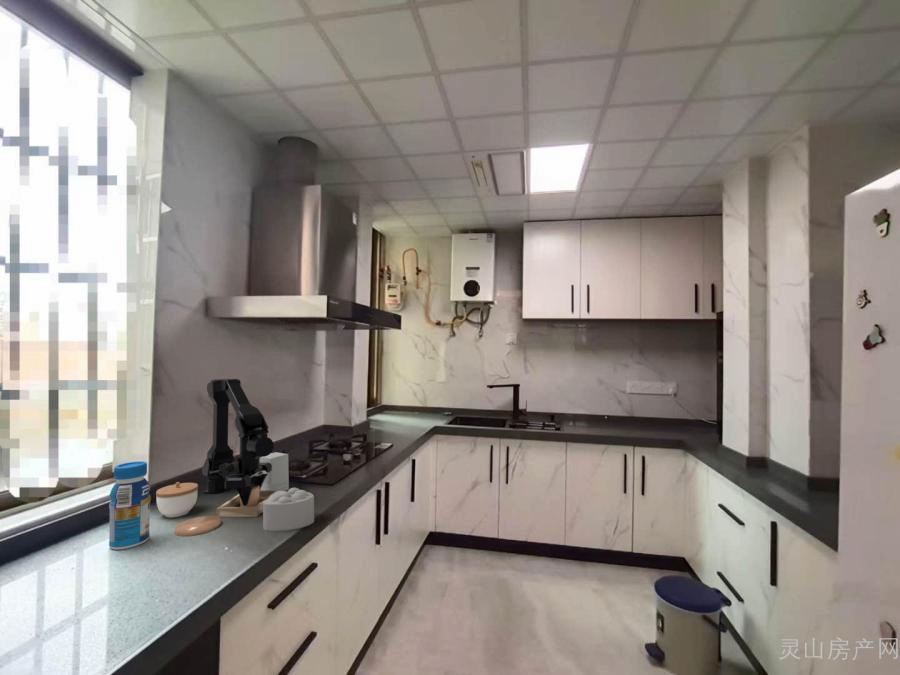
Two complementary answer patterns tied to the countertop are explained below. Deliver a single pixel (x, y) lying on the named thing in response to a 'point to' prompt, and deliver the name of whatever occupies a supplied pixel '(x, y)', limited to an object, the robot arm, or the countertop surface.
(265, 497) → the wooden frame
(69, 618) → the countertop surface
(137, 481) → the beverage bottle
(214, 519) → the terracotta saucer
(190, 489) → the lidded jar
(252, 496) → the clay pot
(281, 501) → the lumpy-topped squat cylinder
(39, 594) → the countertop surface
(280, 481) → the supplement box
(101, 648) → the countertop surface
